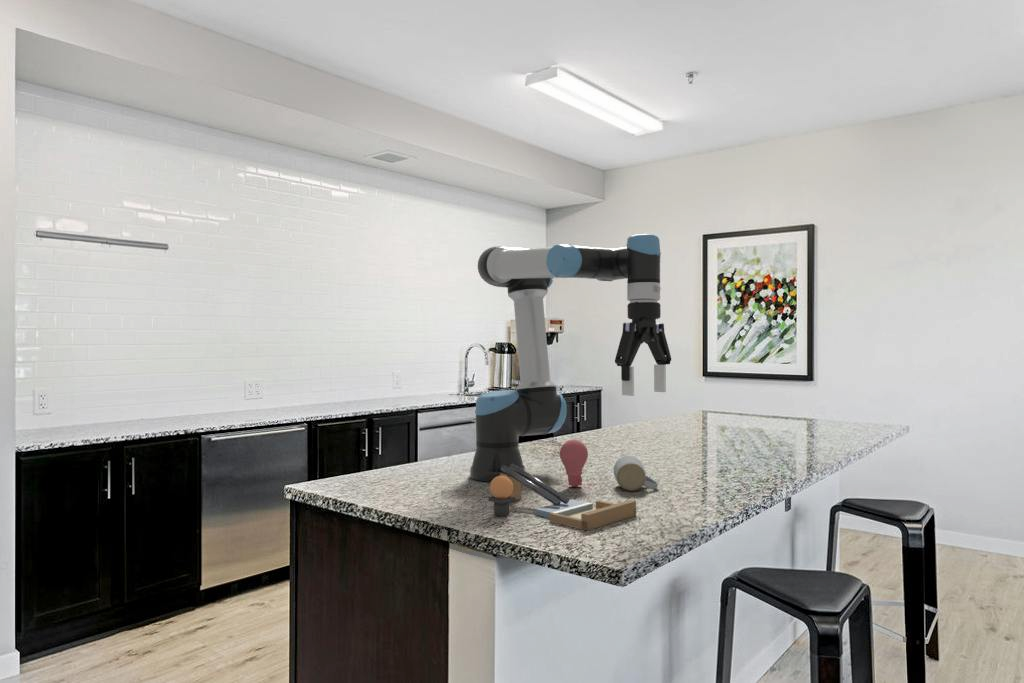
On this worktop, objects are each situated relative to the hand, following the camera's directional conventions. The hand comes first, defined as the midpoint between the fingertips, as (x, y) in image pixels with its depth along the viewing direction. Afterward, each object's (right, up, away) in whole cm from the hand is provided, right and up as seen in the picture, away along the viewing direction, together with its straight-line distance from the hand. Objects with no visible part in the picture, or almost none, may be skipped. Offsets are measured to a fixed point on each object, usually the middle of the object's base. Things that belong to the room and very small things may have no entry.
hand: (644, 393), depth 156 cm
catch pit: (-14, -25, -17) cm, 33 cm away
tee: (-33, -25, -13) cm, 43 cm away
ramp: (-26, -25, -4) cm, 36 cm away
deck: (-19, -25, -11) cm, 33 cm away
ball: (-33, -19, -13) cm, 40 cm away
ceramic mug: (0, -25, +12) cm, 28 cm away
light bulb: (-15, -25, +15) cm, 33 cm away
